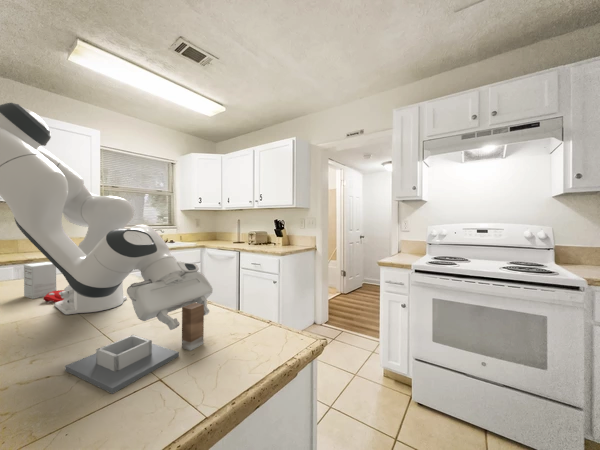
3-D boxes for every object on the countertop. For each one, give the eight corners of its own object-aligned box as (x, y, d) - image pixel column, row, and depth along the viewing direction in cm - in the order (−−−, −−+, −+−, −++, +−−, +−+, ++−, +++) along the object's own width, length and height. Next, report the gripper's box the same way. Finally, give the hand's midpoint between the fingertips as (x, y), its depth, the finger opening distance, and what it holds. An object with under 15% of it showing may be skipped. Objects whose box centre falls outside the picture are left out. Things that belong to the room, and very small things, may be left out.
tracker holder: (76, 299, 94) (40, 296, 90) (73, 310, 95) (37, 307, 90) (87, 284, 105) (55, 281, 100) (84, 294, 105) (53, 291, 101)
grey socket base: (65, 370, 52) (65, 351, 52) (133, 341, 65) (134, 325, 65) (112, 393, 45) (112, 371, 45) (178, 356, 58) (178, 338, 58)
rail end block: (181, 348, 62) (182, 307, 62) (194, 341, 66) (195, 302, 65) (190, 350, 61) (191, 309, 60) (203, 343, 64) (203, 304, 64)
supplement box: (48, 291, 106) (48, 261, 106) (56, 294, 103) (56, 263, 103) (23, 296, 100) (23, 264, 99) (31, 299, 96) (31, 266, 96)
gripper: (129, 276, 56) (159, 329, 52) (201, 263, 75) (226, 301, 71) (117, 294, 58) (144, 345, 54) (189, 276, 77) (214, 314, 73)
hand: (191, 320), depth 63 cm, fingers open, 8 cm apart
